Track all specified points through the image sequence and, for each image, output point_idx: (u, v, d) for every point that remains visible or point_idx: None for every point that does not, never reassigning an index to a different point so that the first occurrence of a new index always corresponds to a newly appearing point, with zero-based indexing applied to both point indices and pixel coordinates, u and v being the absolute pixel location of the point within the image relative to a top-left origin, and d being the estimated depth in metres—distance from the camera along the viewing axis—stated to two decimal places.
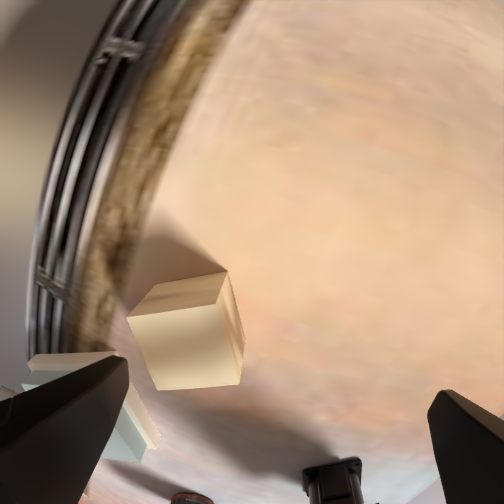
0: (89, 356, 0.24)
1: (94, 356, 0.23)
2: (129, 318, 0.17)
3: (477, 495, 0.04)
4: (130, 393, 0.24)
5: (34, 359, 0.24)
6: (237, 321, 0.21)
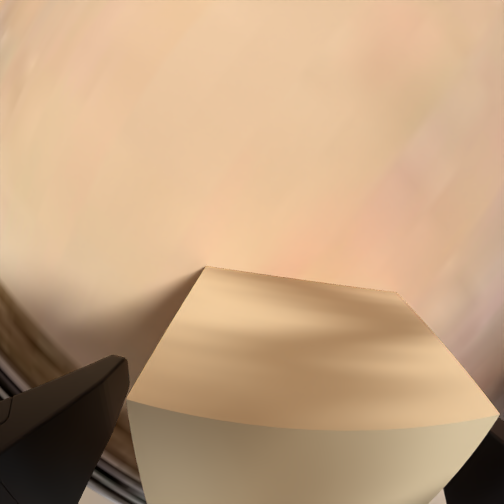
0: None
1: None
2: None
3: (477, 495, 0.04)
4: None
5: None
6: (336, 300, 0.07)
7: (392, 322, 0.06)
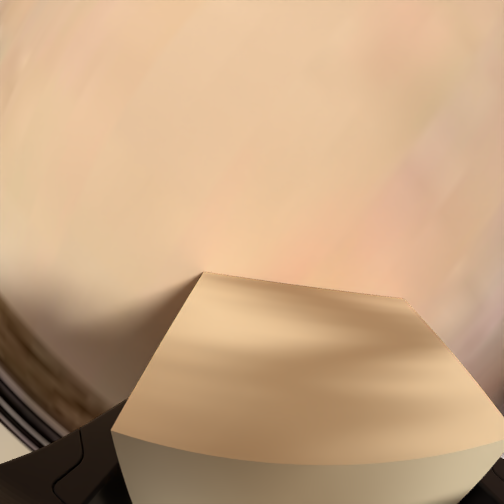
0: None
1: None
2: None
3: None
4: None
5: None
6: (342, 309, 0.07)
7: (402, 334, 0.06)
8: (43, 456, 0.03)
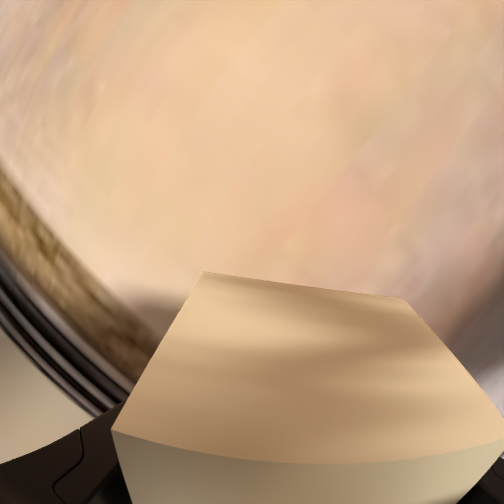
0: None
1: None
2: None
3: None
4: None
5: None
6: (341, 309, 0.07)
7: (401, 334, 0.06)
8: (43, 456, 0.03)
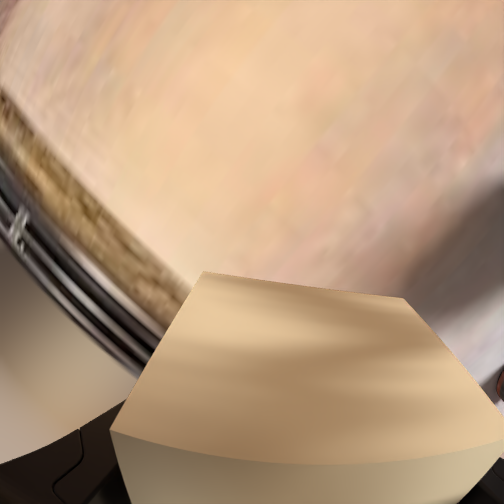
0: None
1: None
2: None
3: None
4: None
5: None
6: (341, 309, 0.07)
7: (401, 334, 0.06)
8: (43, 456, 0.03)
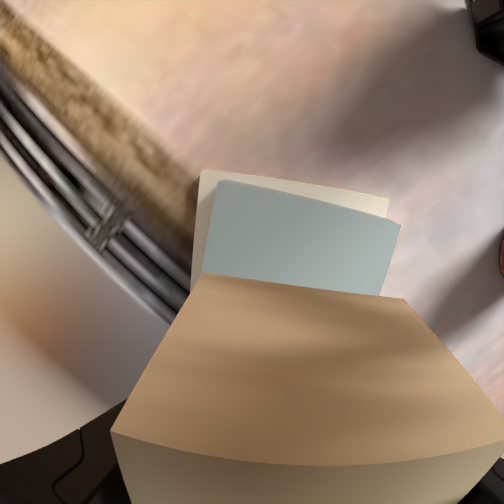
0: None
1: None
2: None
3: None
4: None
5: None
6: (341, 310, 0.07)
7: (401, 334, 0.06)
8: (43, 456, 0.03)
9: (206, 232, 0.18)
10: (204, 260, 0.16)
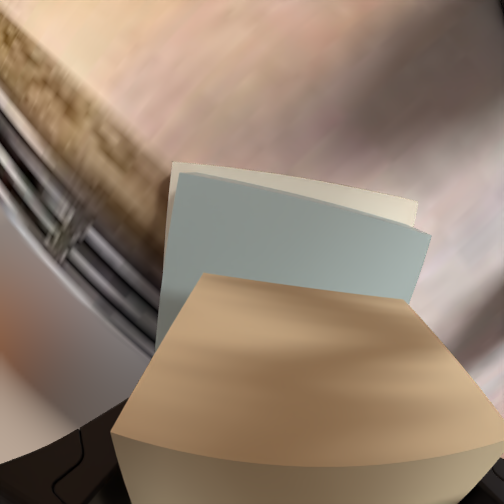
0: None
1: None
2: None
3: None
4: None
5: None
6: (341, 311, 0.07)
7: (402, 335, 0.06)
8: (43, 456, 0.03)
9: None
10: (163, 281, 0.11)
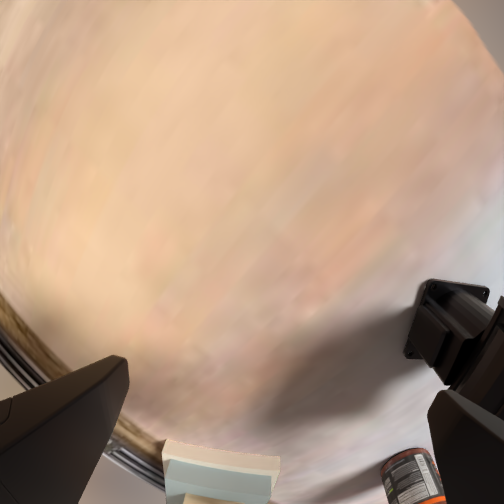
0: None
1: None
2: None
3: (477, 495, 0.04)
4: (206, 455, 0.24)
5: None
6: None
7: None
8: None
9: None
10: (166, 496, 0.22)
